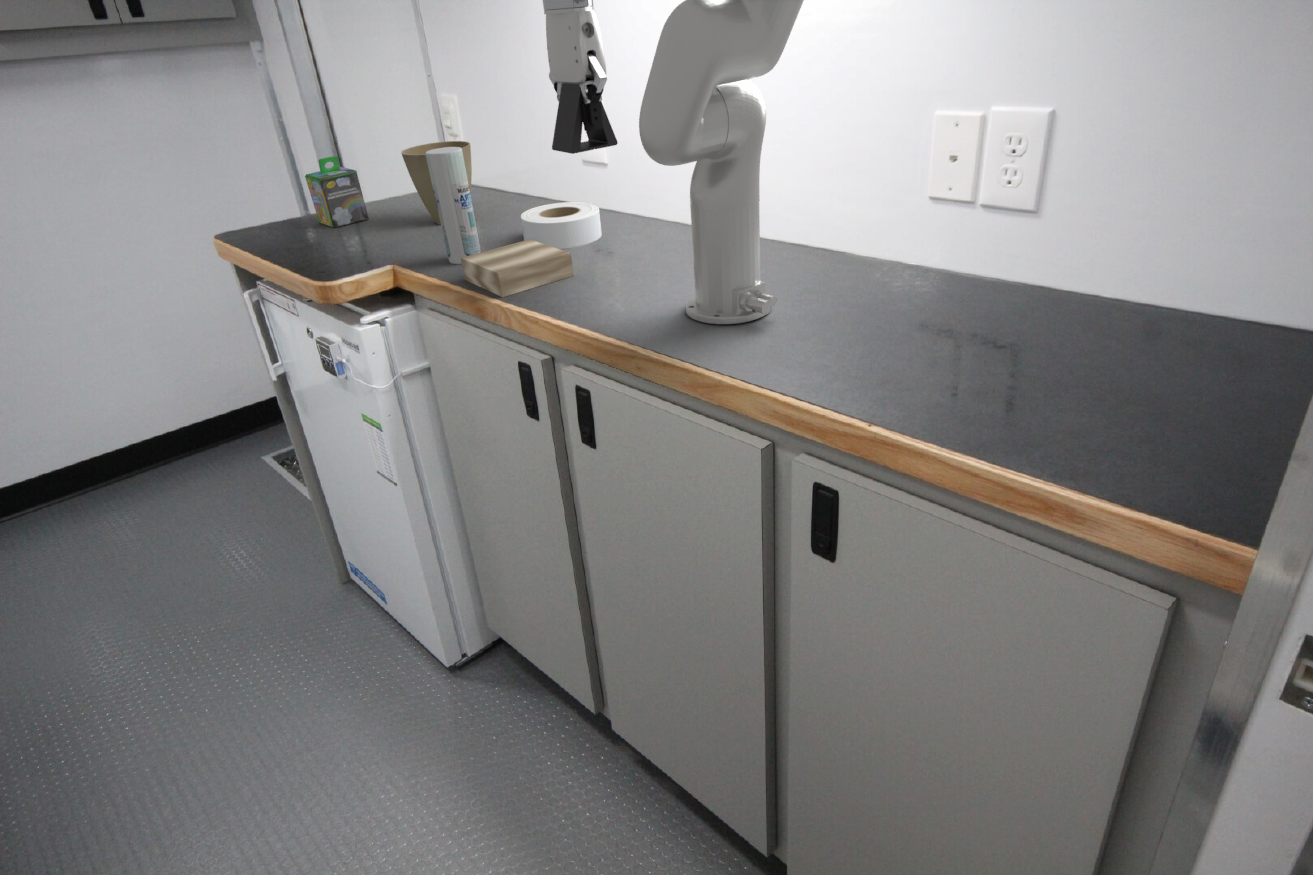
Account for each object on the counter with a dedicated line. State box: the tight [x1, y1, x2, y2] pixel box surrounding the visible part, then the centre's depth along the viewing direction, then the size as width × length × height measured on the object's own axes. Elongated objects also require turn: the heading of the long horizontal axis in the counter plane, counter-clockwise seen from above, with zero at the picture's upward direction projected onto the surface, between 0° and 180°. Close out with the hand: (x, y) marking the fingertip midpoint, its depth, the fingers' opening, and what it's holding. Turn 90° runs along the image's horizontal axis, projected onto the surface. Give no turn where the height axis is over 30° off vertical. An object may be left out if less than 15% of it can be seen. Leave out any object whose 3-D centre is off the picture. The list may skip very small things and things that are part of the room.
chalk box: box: [304, 155, 369, 229], centre depth 184 cm, size 9×9×15 cm
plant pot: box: [400, 140, 473, 225], centre depth 176 cm, size 15×15×16 cm
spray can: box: [425, 147, 482, 265], centre depth 147 cm, size 6×6×20 cm
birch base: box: [461, 239, 575, 298], centre depth 138 cm, size 14×14×4 cm
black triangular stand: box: [551, 78, 619, 155], centre depth 126 cm, size 9×6×12 cm, turn 126°
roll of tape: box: [520, 201, 603, 250], centre depth 158 cm, size 16×16×6 cm
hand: (582, 127), depth 128 cm, fingers closed on black triangular stand, 6 cm apart
